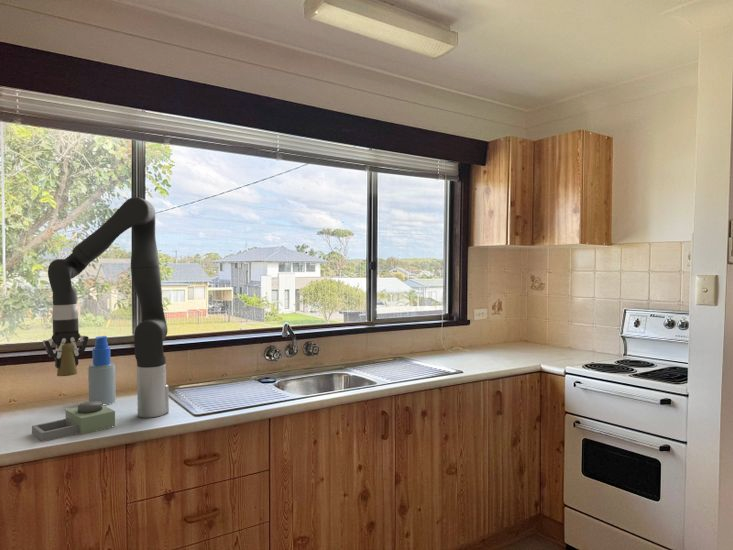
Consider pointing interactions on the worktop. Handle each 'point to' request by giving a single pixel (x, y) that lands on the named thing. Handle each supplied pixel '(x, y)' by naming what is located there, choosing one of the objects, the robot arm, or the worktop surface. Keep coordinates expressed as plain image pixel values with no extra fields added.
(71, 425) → the stepped tray with pebble
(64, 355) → the olive brown upright piece
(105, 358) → the spray bottle
